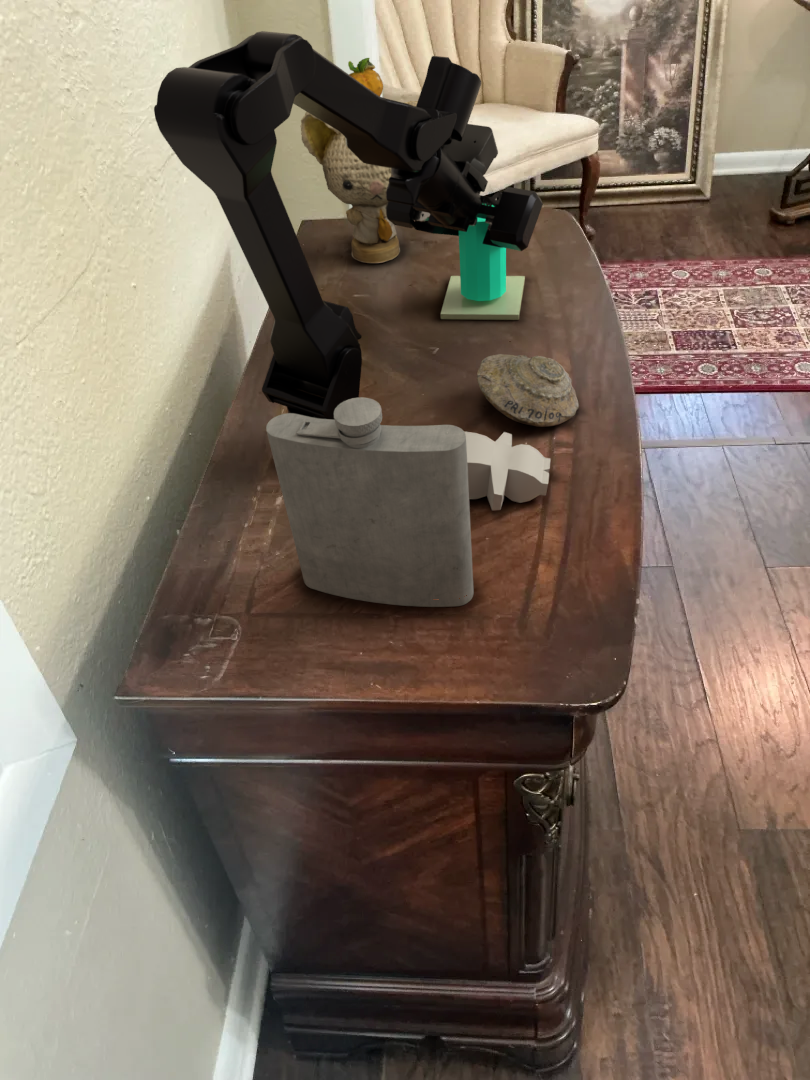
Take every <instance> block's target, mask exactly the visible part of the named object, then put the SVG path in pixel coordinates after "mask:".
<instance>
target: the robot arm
mask: <svg viewBox="0 0 810 1080" xmlns="http://www.w3.org/2000/svg"><path fill="white" fill-rule="evenodd" d="M349 74H350V73H348V72H346V71H345V70H343V69H342V68H341V67H339V66H338V65H336V64H335V63H334V62H332V61H331V60H329V59H328V58H326V56H324V55H322V54H320V53H319V52H318V51H317V50H316V49H314V48H313V46H312V44H311V43H310V42H309V41H308V39H304V38H303V37H302V36H301V35H299V34H295V33H287V32H275V31H266V30H261V31H257V32H255V33H254V34H251V35H249V36H248V37H246V38H244V39H243V40H241V42H239V43H238V44H236V45H235V46H232V47H230V48H227V49H224V50H222V51H219V52H216V53H214V54H211V55H209V56H206V57H203V58H201V59H198V60H196V61H194V62H193V63H192V64H190V65H189V66H188V67H187V66H183V67H176V68H174V69H172V70H170V71H169V72H168V73H166V75H165V76H164V77H163V79H162V80H161V83H160V85H159V89H158V91H157V98H156V104H155V105H154V107H153V112H154V118H155V122H156V125H157V126H158V130H159V132H160V134H161V136H162V137H163V139H165V140H164V141H166V142H167V144H168V146H169V147H170V148H171V150H172V151H173V153H174V154H175V156H176V157H177V158H178V160H179V161H180V162H181V163H182V165H183V166H184V167H185V168H186V169H187V170H189V171H190V172H191V173H192V174H193V175H194V176H195V177H197V178H198V179H199V180H200V182H202V183H203V184H204V185H206V186H207V187H208V188H209V189H210V190H211V191H212V192H213V194H214V195H215V196H216V199H217V200H218V202H219V205H220V207H221V209H222V211H223V213H224V215H225V217H226V220H227V221H228V223H229V225H230V228H231V230H232V233H233V234H234V236H235V238H236V240H237V243H238V245H239V247H240V249H241V251H242V253H243V256H244V257H245V259H246V261H247V264H248V266H249V268H250V270H251V272H252V274H253V276H254V278H255V280H256V282H257V285H258V287H259V289H260V291H261V293H262V295H263V297H264V299H265V302H266V304H267V305H268V309H269V310H270V312H271V314H272V317H273V319H274V321H273V325H272V329H271V333H270V335H269V341H270V345H271V348H272V352H273V354H272V357H271V359H270V362H269V363H270V364H269V366H268V370H267V372H266V375H265V379H264V382H263V385H262V388H261V392H262V394H263V395H264V396H265V398H266V399H267V401H268V402H269V403H271V404H274V403H275V404H277V405H278V404H279V405H280V406H284V407H286V409H287V413H294V414H299V415H303V416H308V417H313V418H319V419H331V420H335V419H334V410H335V408H336V407H337V406H338V405H339V404H340V403H342V402H344V401H346V400H348V399H352V398H357V397H358V398H360V390H361V377H362V376H361V375H362V368H363V367H362V366H363V355H362V348H361V344H360V341H359V340H361V339H362V336H363V335H362V334H361V333H360V332H359V331H358V330H357V328H356V324H355V321H354V316H353V312H352V311H351V310H350V308H349V307H348V306H345V305H342V304H338V303H334V302H330V301H326V300H323V298H322V295H321V292H320V290H319V288H318V285H317V283H316V281H315V278H314V276H313V273H312V270H311V268H310V265H309V263H308V260H307V258H306V256H305V253H304V251H303V248H302V246H301V243H300V241H299V239H298V236H297V233H296V231H295V229H294V226H293V224H292V223H293V222H292V221H291V219H290V216H289V214H288V211H287V209H286V206H285V204H284V201H283V199H282V196H281V194H280V191H279V189H278V186H277V184H276V181H275V179H274V176H273V172H272V168H273V163H274V159H275V155H276V154H275V153H276V148H277V142H278V139H277V135H276V131H275V130H276V129H277V128H278V127H280V125H282V124H283V123H284V122H286V121H287V120H288V119H289V118H290V117H291V113H292V108H293V106H294V105H295V106H296V107H298V108H300V109H302V110H303V111H305V113H306V112H308V113H310V114H311V115H313V116H315V117H316V118H318V119H320V120H321V121H323V122H325V123H326V124H328V125H330V126H331V127H333V128H335V129H336V130H338V131H339V132H341V133H342V134H343V135H344V136H345V140H346V145H347V147H348V148H349V149H350V150H351V151H352V152H353V153H354V154H355V155H356V156H357V157H358V158H359V159H360V160H361V161H362V162H363V163H366V164H370V165H376V166H381V167H387V168H391V177H390V178H389V184H388V187H387V190H386V199H387V200H388V201H387V204H386V207H385V209H386V216H387V219H388V220H389V221H390V222H392V223H393V224H394V226H397V227H402V228H407V229H413V228H414V230H416V231H418V232H425V233H429V234H433V235H434V234H436V235H444V236H455V237H459V231H464V232H467V229H468V227H469V225H470V226H475V225H476V223H477V217H478V218H483V219H486V220H485V223H486V224H487V225H489V226H488V228H487V231H486V234H485V237H484V240H483V244H486V245H491V246H495V247H500V248H506V249H508V250H514V251H517V252H518V251H519V252H523V251H524V250H526V249H528V248H529V245H530V242H531V239H532V236H533V233H534V230H535V228H536V225H537V223H538V219H539V217H540V213H541V211H542V207H543V206H544V203H543V201H542V199H541V197H540V196H539V194H538V193H537V192H536V191H534V190H529V189H524V188H517V187H511V186H508V187H507V188H505V189H504V190H503V191H502V192H495V193H494V195H492V196H487V195H481V192H482V193H485V192H486V188H487V186H488V183H489V181H488V179H487V178H486V177H485V174H486V173H487V172H488V170H489V168H490V166H491V165H492V163H493V162H494V160H495V159H496V158H497V157H498V155H499V150H498V146H497V143H496V139H495V136H494V132H493V129H492V128H491V126H486V125H480V124H479V125H478V124H470V123H469V121H470V118H471V116H472V113H473V110H474V108H475V107H474V106H475V105H476V101H477V98H478V95H479V92H480V89H481V87H482V80H481V78H480V76H479V75H478V74H477V73H475V72H473V71H471V70H469V69H468V68H466V67H464V66H463V65H460V64H457V63H454V62H452V60H451V59H450V57H449V56H448V57H447V56H438V55H432V56H431V58H430V60H429V63H428V67H427V70H426V74H425V79H424V82H423V85H422V88H421V91H420V93H419V96H418V99H417V101H418V102H417V105H416V106H413V105H410V104H407V103H404V102H402V101H398V100H394V99H390V98H385V97H383V96H378V95H377V94H375V93H374V92H372V91H371V90H370V89H368V88H367V87H365V86H364V85H363V84H361V83H360V82H358V81H357V80H356V79H354V78H353V77H351V76H350V75H349ZM482 204H483V205H482ZM488 205H489V206H488ZM492 205H493V206H494V207H492Z"/></svg>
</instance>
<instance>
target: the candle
mask: <svg viewBox="0 0 810 1080" xmlns="http://www.w3.org/2000/svg"><path fill="white" fill-rule="evenodd" d="M482 205H483V204H482ZM488 206H489V205H488ZM492 207H494V206H493V205H492ZM485 220H486V219H483V218H478V217H477V223H476V225H475V226H470V225H469V227H468V229H467V232H464V231H459V236H458V249H459V250H458V251H459V254H458V255H459V276H460V281H461V294H462V295H463V296H464V297H465V298H467V299H470V300H475V301H490V300H493V299H496V298H499V297H501V296H502V295H503V294H504V293H505V292H506V276H507V248H500V247H495V246H491V245H486V244H483V240H484V237H485V234H486V231H487V228H488V226H489V225H487V224H486V223H485Z"/></svg>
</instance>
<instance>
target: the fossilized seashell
mask: <svg viewBox="0 0 810 1080" xmlns="http://www.w3.org/2000/svg"><path fill="white" fill-rule="evenodd" d="M476 382H477V385H478V387H479V389H480V391H481V393H482V394H483V396H484V397H485V399H486V400H487V401H488V402H489V403H490V404H491V405H492V407H494V408H495V410H497V411H498V412H500V414H503V415H504V416H505V417H507V418H508V419H510V420H512V421H514V422H516V423H521V424H524V425H528V426H534V427H538V428H539V427H540V428H541V427H542V428H545V427H554V426H559V425H562V424H563V423H565V422H567V421H569V420H571V419H572V418H573V417H574V416H575V415H576V413H577V410H579V407H580V405H579V404H580V403H579V401H578V398H577V393H576V390H575V388H574V387H573V385H572V383H573V381H572V378H571V377H570V374H569V373H568V372H567V371H566V370H565V368H564V366H562V364H560V363H559V362H558V361H556V359H553V358H551V357H545V356H543V355H535V356H532V357H528V356H527V355H525V354H523V355H520V354H518V355H513V354H504V353H497V354H493V355H489V356H487V357H484V358H483V359H482V361H481V362H480V364H479V366H478V369H477V372H476Z"/></svg>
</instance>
